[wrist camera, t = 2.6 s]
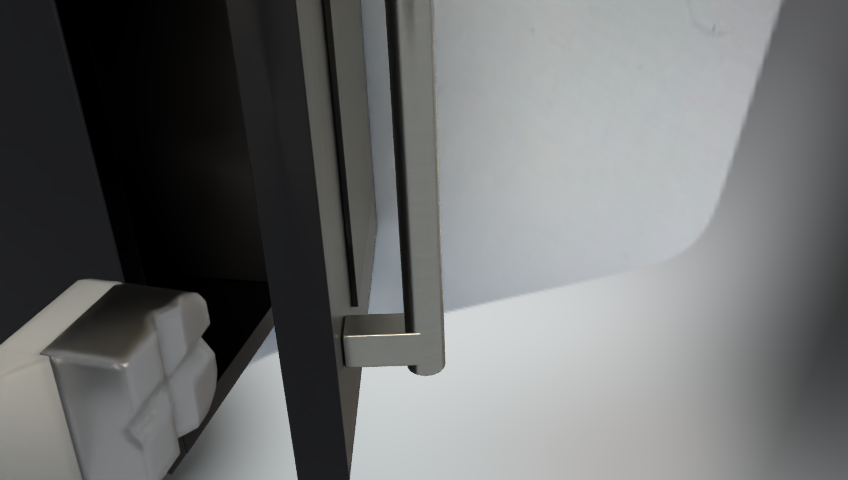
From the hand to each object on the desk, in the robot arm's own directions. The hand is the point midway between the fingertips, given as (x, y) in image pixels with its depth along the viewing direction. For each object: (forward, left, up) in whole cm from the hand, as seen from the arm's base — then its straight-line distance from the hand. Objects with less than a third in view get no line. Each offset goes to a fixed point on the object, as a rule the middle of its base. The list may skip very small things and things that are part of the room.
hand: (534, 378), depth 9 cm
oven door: (+9, 0, -27) cm, 29 cm away
